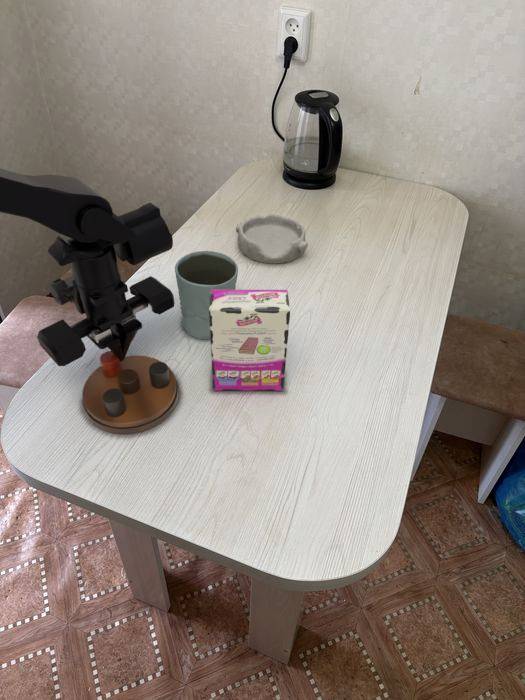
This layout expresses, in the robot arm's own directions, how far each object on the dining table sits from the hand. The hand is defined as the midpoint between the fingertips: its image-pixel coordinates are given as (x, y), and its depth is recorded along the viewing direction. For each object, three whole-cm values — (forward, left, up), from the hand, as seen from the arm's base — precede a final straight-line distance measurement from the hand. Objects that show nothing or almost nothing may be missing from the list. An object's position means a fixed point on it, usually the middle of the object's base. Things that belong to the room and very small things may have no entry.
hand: (120, 359), depth 77 cm
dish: (+34, +31, -4) cm, 46 cm away
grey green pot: (+16, +10, -4) cm, 19 cm away
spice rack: (+1, -4, -3) cm, 5 cm away
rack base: (+1, -4, -4) cm, 6 cm away
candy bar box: (+19, -5, -4) cm, 20 cm away
